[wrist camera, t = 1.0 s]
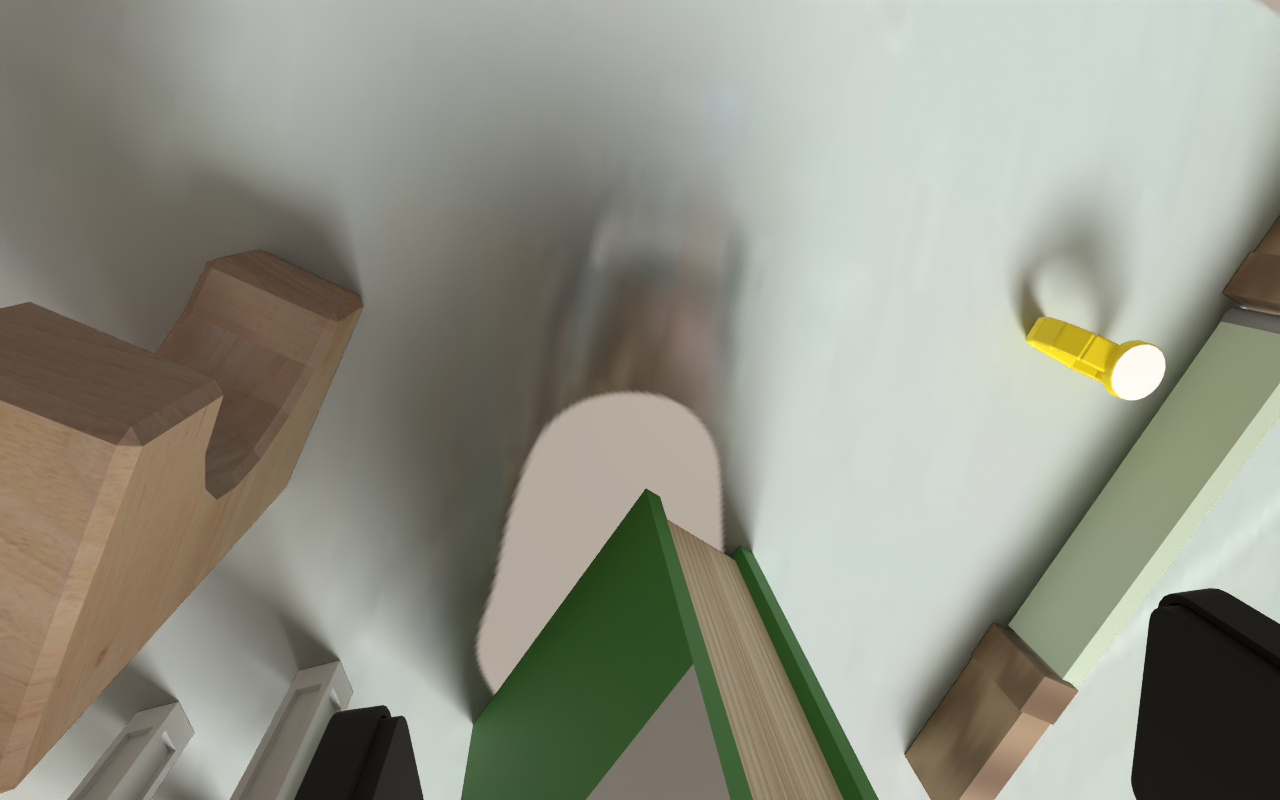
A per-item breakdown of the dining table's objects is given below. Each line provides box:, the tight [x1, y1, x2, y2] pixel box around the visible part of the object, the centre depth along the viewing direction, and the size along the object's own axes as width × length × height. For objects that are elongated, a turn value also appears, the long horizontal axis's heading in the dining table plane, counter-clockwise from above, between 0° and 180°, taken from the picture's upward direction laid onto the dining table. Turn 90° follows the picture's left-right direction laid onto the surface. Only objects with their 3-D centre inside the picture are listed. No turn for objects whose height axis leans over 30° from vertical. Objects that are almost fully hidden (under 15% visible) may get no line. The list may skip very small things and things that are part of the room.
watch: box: [1025, 317, 1166, 400], centre depth 37 cm, size 6×3×6 cm, turn 63°
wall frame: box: [905, 216, 1280, 800], centre depth 38 cm, size 40×2×9 cm, turn 153°
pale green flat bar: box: [1009, 307, 1280, 686], centre depth 40 cm, size 22×2×5 cm, turn 153°
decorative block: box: [0, 250, 363, 793], centre depth 26 cm, size 11×6×20 cm, turn 151°
